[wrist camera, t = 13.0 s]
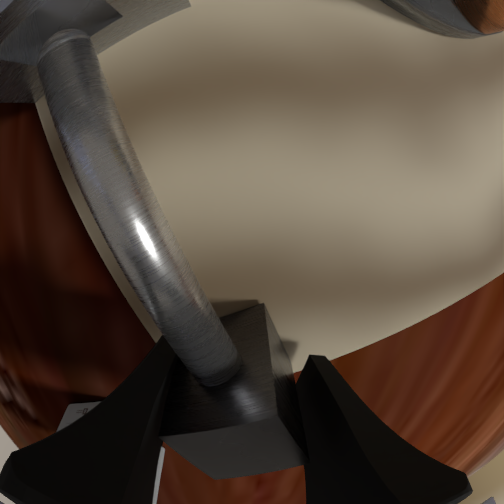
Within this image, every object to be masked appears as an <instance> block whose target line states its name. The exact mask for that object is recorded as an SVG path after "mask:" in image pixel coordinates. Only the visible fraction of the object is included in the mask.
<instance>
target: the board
mask: <svg viewBox="0 0 504 504" xmlns="http://www.w3.org/2000/svg"><path fill="white" fill-rule="evenodd" d="M189 2H190V4H191V7H188V8H186V9H183V10H181V11H179V12H176V13H174V14H172V15H169V16H167V17H165V18H163V19H161V20H159V21H157V22H154V23H152V24H150V25H148V26H146V27H145V28H143V29H141V30H139V31H137V32H135V33H133V34H131V35H130V36H128V37H126V38H124V39H123V40H121V41H119V42H117V43H116V44H114V45H112V46H111V47H109V48H108V49H106V50H104V51H103V52H101V53H100V54H98V55H97V56H98V59H99V62H100V65H101V68H102V70H103V73H104V76H105V78H106V81H107V84H108V86H109V89H110V92H111V94H112V97H113V99H114V102H115V104H116V107H117V109H118V112H119V114H120V117H121V119H122V122H123V124H124V127H125V129H126V131H127V134H128V136H129V138H130V141H131V143H132V145H133V148H134V150H135V152H136V155H137V157H138V159H139V161H140V164H141V166H142V168H143V170H144V173H145V175H146V177H147V179H148V181H149V183H150V186H151V188H152V190H153V192H154V194H155V196H156V198H157V201H158V203H159V205H160V207H161V209H162V211H163V213H164V215H165V217H166V219H167V221H168V223H169V225H170V227H171V229H172V231H173V233H174V235H175V237H176V239H177V241H178V243H179V245H180V247H181V249H182V251H183V253H184V255H185V257H186V259H187V261H188V263H189V265H190V266H191V268H192V270H193V272H194V274H195V276H196V278H197V280H198V282H199V283H200V285H201V287H202V289H203V291H204V293H205V294H206V296H207V298H208V300H209V302H210V303H211V305H212V307H213V309H214V311H215V312H216V314H217V316H218V318H220V317H223V316H226V315H229V314H232V313H235V312H238V311H241V310H244V309H247V308H249V307H252V306H255V305H258V304H261V303H264V304H265V306H266V308H267V310H268V313H269V315H270V317H271V319H272V321H273V324H274V326H275V328H276V330H277V332H278V334H279V337H280V339H281V341H282V343H283V345H284V348H285V350H286V352H287V354H288V356H289V358H290V361H291V364H292V369H293V373H294V372H297V371H301V370H303V368H304V365H305V363H306V361H307V359H308V356H309V354H310V355H323V356H326V358H327V359H328V360H332V359H335V358H337V357H340V356H342V355H345V354H348V353H350V352H353V351H355V350H358V349H360V348H363V347H365V346H367V345H370V344H372V343H374V342H377V341H379V340H381V339H384V338H386V337H388V336H390V335H392V334H395V333H397V332H399V331H401V330H403V329H405V328H407V327H409V326H411V325H413V324H415V323H417V322H419V321H421V320H423V319H425V318H427V317H429V316H431V315H433V314H435V313H437V312H439V311H441V310H442V309H444V308H446V307H448V306H450V305H452V304H453V303H455V302H457V301H459V300H460V299H462V298H464V297H465V296H467V295H469V294H470V293H472V292H474V291H475V290H477V289H479V288H480V287H482V286H483V285H485V284H487V283H488V282H490V281H491V280H493V279H494V278H496V277H497V276H499V275H500V274H502V273H503V272H504V31H503V32H501V33H497V34H493V35H488V36H484V37H479V38H475V39H461V38H454V37H451V36H447V35H444V34H441V33H439V32H436V31H433V30H431V29H429V28H427V27H425V26H423V25H421V24H418V23H416V22H415V21H413V20H411V19H409V18H407V17H406V16H404V15H402V14H400V13H399V12H397V11H396V10H394V9H392V8H391V7H389V6H387V5H386V4H385V3H383V2H382V1H380V0H189ZM35 104H36V107H37V111H38V114H39V117H40V120H41V123H42V126H43V129H44V132H45V135H46V138H47V141H48V143H49V146H50V149H51V151H52V154H53V157H54V159H55V162H56V164H57V167H58V169H59V171H60V174H61V176H62V179H63V181H64V183H65V186H66V188H67V190H68V192H69V195H70V197H71V199H72V201H73V203H74V205H75V207H76V210H77V212H78V214H79V216H80V218H81V220H82V222H83V224H84V226H85V228H86V230H87V232H88V234H89V236H90V237H91V239H92V241H93V243H94V245H95V247H96V249H97V250H98V252H99V254H100V256H101V258H102V259H103V261H104V263H105V265H106V266H107V268H108V270H109V272H110V273H111V275H112V277H113V278H114V280H115V282H116V283H117V285H118V287H119V288H120V290H121V292H122V293H123V295H124V296H125V298H126V299H127V301H128V303H129V304H130V306H131V307H132V309H133V310H134V312H135V313H136V315H137V316H138V318H139V319H140V321H141V322H142V324H143V325H144V327H145V328H146V330H147V331H148V332H149V334H150V335H151V337H152V338H153V339H154V341H155V342H156V343H157V342H158V340H159V339H160V337H161V336H162V335H163V334H162V333H161V331H160V330H159V328H158V327H157V326H156V324H155V323H154V321H153V320H152V318H151V317H150V315H149V313H148V312H147V310H146V309H145V307H144V306H143V304H142V303H141V301H140V299H139V298H138V296H137V295H136V293H135V291H134V290H133V288H132V286H131V285H130V283H129V281H128V280H127V278H126V276H125V275H124V273H123V271H122V270H121V268H120V266H119V264H118V263H117V261H116V259H115V257H114V255H113V254H112V252H111V250H110V248H109V246H108V245H107V243H106V241H105V239H104V237H103V235H102V233H101V231H100V229H99V227H98V225H97V223H96V221H95V219H94V217H93V215H92V213H91V211H90V209H89V207H88V205H87V203H86V201H85V199H84V197H83V194H82V192H81V190H80V188H79V186H78V183H77V181H76V179H75V177H74V174H73V172H72V169H71V167H70V165H69V162H68V160H67V157H66V155H65V152H64V150H63V147H62V145H61V142H60V139H59V137H58V134H57V131H56V128H55V125H54V123H53V120H52V117H51V114H50V111H49V108H48V105H47V101H46V98H45V95H44V96H43V97H41V98H40V99H39V100H38V101H37V102H36V103H35Z"/></svg>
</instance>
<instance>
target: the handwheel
mask: <svg viewBox="0 0 504 504" xmlns="http://www.w3.org/2000/svg"><path fill="white" fill-rule="evenodd" d="M380 1H382V2H383V3H385V4H386V5H387V6H389V7H391V8H392V9H394V10H396V11H397V12H399V13H400V14H402V15H404V16H406V17H407V18H409V19H411V20H413V21H415V22H416V23H418V24H421V25H423V26H425V27H427V28H429V29H431V30H433V31H436V32H439V33H441V34H444V35H447V36H451V37H454V38H461V39H475V38H479V37H484V36H488V35H493V34H497V33H501V32H503V31H504V0H380Z"/></svg>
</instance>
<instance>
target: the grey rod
mask: <svg viewBox="0 0 504 504" xmlns="http://www.w3.org/2000/svg"><path fill="white" fill-rule="evenodd" d="M37 70H38V73H39V77H40V81H41V84H42V88H43V91H44V95H45V98H46V101H47V105H48V108H49V111H50V114H51V117H52V120H53V123H54V125H55V128H56V131H57V134H58V137H59V139H60V142H61V145H62V147H63V150H64V152H65V155H66V157H67V160H68V162H69V165H70V167H71V169H72V172H73V174H74V177H75V179H76V181H77V183H78V186H79V188H80V190H81V192H82V194H83V197H84V199H85V201H86V203H87V205H88V207H89V209H90V211H91V213H92V215H93V217H94V219H95V221H96V223H97V225H98V227H99V229H100V231H101V233H102V235H103V237H104V239H105V241H106V243H107V245H108V246H109V248H110V250H111V252H112V254H113V255H114V257H115V259H116V261H117V263H118V264H119V266H120V268H121V270H122V271H123V273H124V275H125V276H126V278H127V280H128V281H129V283H130V285H131V286H132V288H133V290H134V291H135V293H136V295H137V296H138V298H139V299H140V301H141V303H142V304H143V306H144V307H145V309H146V310H147V312H148V313H149V315H150V317H151V318H152V320H153V321H154V323H155V324H156V326H157V327H158V328H159V330H160V331H161V333H162V334H163V336H164V337H165V339H166V340H167V342H168V343H169V344H170V346H171V347H172V349H173V350H174V351H175V353H176V354H177V355H178V359H177V363H176V366H175V368H174V371H173V374H172V377H171V381H170V386H169V390H168V394H167V399H166V403H165V407H164V412H163V416H162V421H161V425H160V430H159V435H158V437H159V438H160V439H161V440H163V441H164V442H165V443H166V444H167V445H169V446H170V447H171V448H172V449H174V450H175V451H176V452H177V453H179V454H180V455H181V456H182V457H184V458H185V459H186V460H188V461H189V462H190V463H192V464H193V465H194V466H196V467H197V468H199V469H200V470H201V471H203V472H204V473H206V474H207V475H209V476H210V477H212V478H213V479H226V478H235V477H242V476H249V475H256V474H262V473H267V472H273V471H278V470H283V469H287V468H292V467H296V466H300V465H304V464H308V463H310V459H309V453H308V448H307V443H306V437H305V432H304V426H303V421H302V416H301V411H300V405H299V400H298V395H297V390H296V385H295V380H294V374H293V369H292V364H291V361H290V358H289V356H288V354H287V352H286V350H285V348H284V345H283V343H282V341H281V339H280V337H279V334H278V332H277V330H276V328H275V326H274V324H273V321H272V319H271V317H270V315H269V313H268V310H267V308H266V306H265V304H264V303H261V304H258V305H255V306H252V307H249V308H247V309H244V310H241V311H238V312H235V313H232V314H229V315H226V316H223V317H220V318H218V316H217V314H216V312H215V311H214V309H213V307H212V305H211V303H210V302H209V300H208V298H207V296H206V294H205V293H204V291H203V289H202V287H201V285H200V283H199V282H198V280H197V278H196V276H195V274H194V272H193V270H192V268H191V266H190V265H189V263H188V261H187V259H186V257H185V255H184V253H183V251H182V249H181V247H180V245H179V243H178V241H177V239H176V237H175V235H174V233H173V231H172V229H171V227H170V225H169V223H168V221H167V219H166V217H165V215H164V213H163V211H162V209H161V207H160V205H159V203H158V201H157V198H156V196H155V194H154V192H153V190H152V188H151V186H150V183H149V181H148V179H147V177H146V175H145V173H144V170H143V168H142V166H141V164H140V161H139V159H138V157H137V155H136V152H135V150H134V148H133V145H132V143H131V141H130V138H129V136H128V134H127V131H126V129H125V127H124V124H123V122H122V119H121V117H120V114H119V112H118V109H117V107H116V104H115V102H114V99H113V97H112V94H111V92H110V89H109V86H108V84H107V81H106V78H105V76H104V73H103V70H102V68H101V65H100V62H99V59H98V56H97V54H96V51H95V48H94V45H93V42H92V40H91V38H90V37H89V36H88V35H87V34H86V33H85V32H83V31H81V30H78V29H66V30H62V31H59V32H57V33H55V34H54V35H52V36H51V37H50V38H49V39H48V40H47V41H46V42H45V43H44V44H43V46H42V48H41V49H40V51H39V54H38V57H37Z"/></svg>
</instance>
